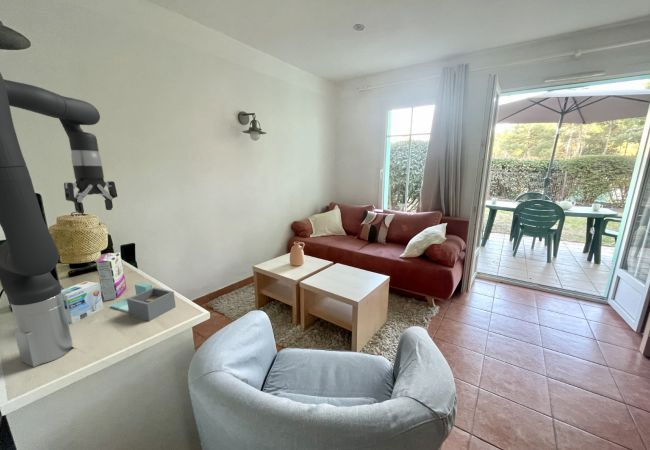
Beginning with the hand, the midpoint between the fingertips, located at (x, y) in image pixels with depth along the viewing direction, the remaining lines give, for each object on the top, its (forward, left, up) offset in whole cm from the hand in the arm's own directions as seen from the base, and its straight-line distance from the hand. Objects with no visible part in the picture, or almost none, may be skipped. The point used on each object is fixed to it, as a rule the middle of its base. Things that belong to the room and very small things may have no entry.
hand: (95, 211), depth 93 cm
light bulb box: (-9, +1, -36) cm, 38 cm away
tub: (+1, -21, -36) cm, 42 cm away
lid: (+2, -8, -36) cm, 37 cm away
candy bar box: (+6, +8, -36) cm, 38 cm away
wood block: (+3, -19, -35) cm, 40 cm away
